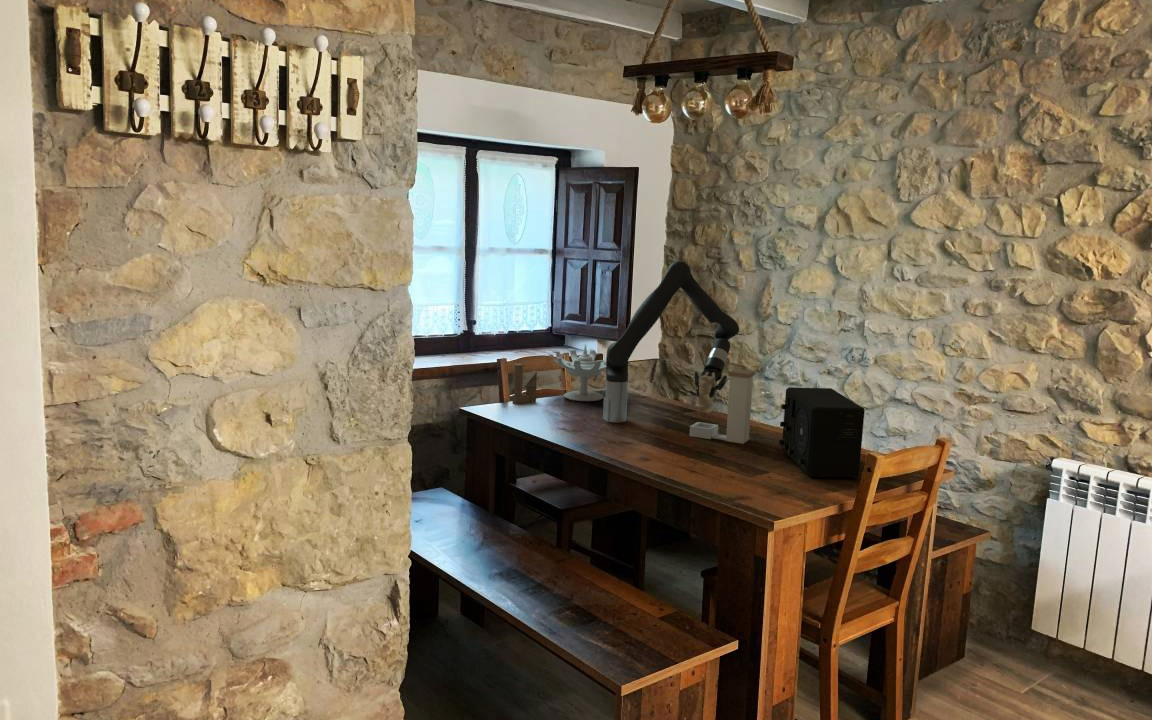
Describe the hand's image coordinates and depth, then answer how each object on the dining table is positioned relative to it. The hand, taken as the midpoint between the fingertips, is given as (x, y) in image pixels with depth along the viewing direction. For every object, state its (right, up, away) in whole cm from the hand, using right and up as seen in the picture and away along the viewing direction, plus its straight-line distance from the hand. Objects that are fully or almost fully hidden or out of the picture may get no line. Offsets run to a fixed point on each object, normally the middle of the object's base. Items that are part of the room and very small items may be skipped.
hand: (704, 395), depth 352 cm
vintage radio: (+35, -24, -33) cm, 53 cm away
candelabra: (-47, -4, +67) cm, 82 cm away
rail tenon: (+1, -6, +3) cm, 7 cm away
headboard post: (+6, -17, +1) cm, 18 cm away
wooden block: (-74, -5, +54) cm, 92 cm away
